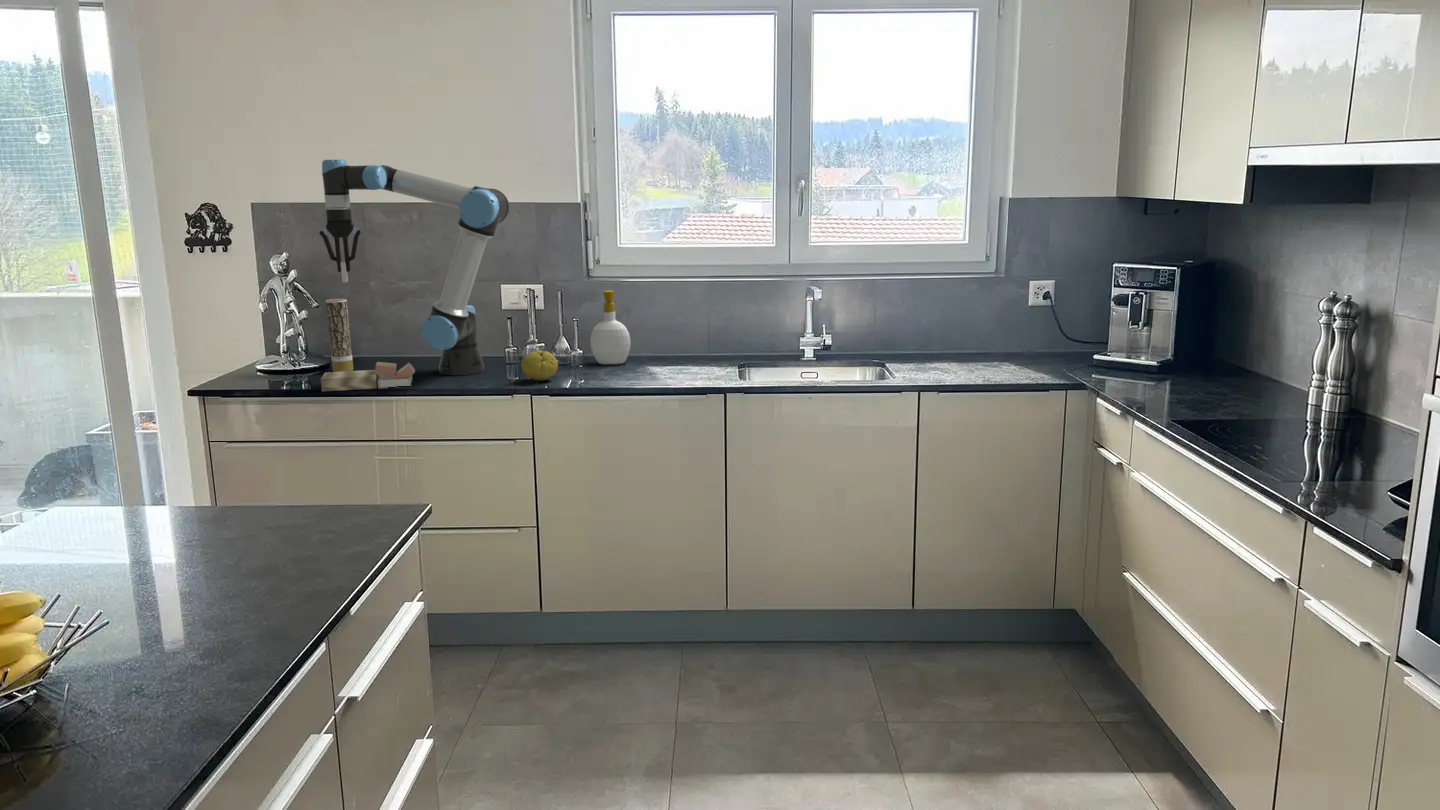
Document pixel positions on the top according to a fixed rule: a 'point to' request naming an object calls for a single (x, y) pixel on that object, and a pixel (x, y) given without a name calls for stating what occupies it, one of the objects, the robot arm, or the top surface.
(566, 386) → the top surface
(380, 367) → the tile
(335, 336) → the bark textured cylinder
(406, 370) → the tile
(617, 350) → the soap bottle
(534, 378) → the fruit
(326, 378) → the board
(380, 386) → the tray
